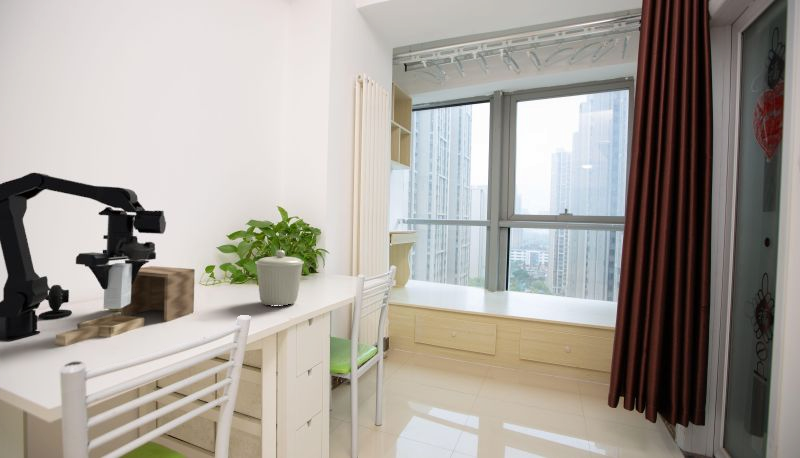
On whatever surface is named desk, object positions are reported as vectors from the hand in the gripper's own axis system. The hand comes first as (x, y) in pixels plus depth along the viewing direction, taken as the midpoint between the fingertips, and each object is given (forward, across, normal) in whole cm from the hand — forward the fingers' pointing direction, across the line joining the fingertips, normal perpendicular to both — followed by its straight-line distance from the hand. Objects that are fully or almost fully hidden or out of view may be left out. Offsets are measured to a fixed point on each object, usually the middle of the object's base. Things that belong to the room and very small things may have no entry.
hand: (118, 286), depth 98 cm
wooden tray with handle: (+13, -4, +2) cm, 13 cm away
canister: (+12, +42, -27) cm, 51 cm away
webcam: (+13, +5, +29) cm, 32 cm away
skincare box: (+6, 0, 0) cm, 6 cm away
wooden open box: (+12, +16, +2) cm, 20 cm away
